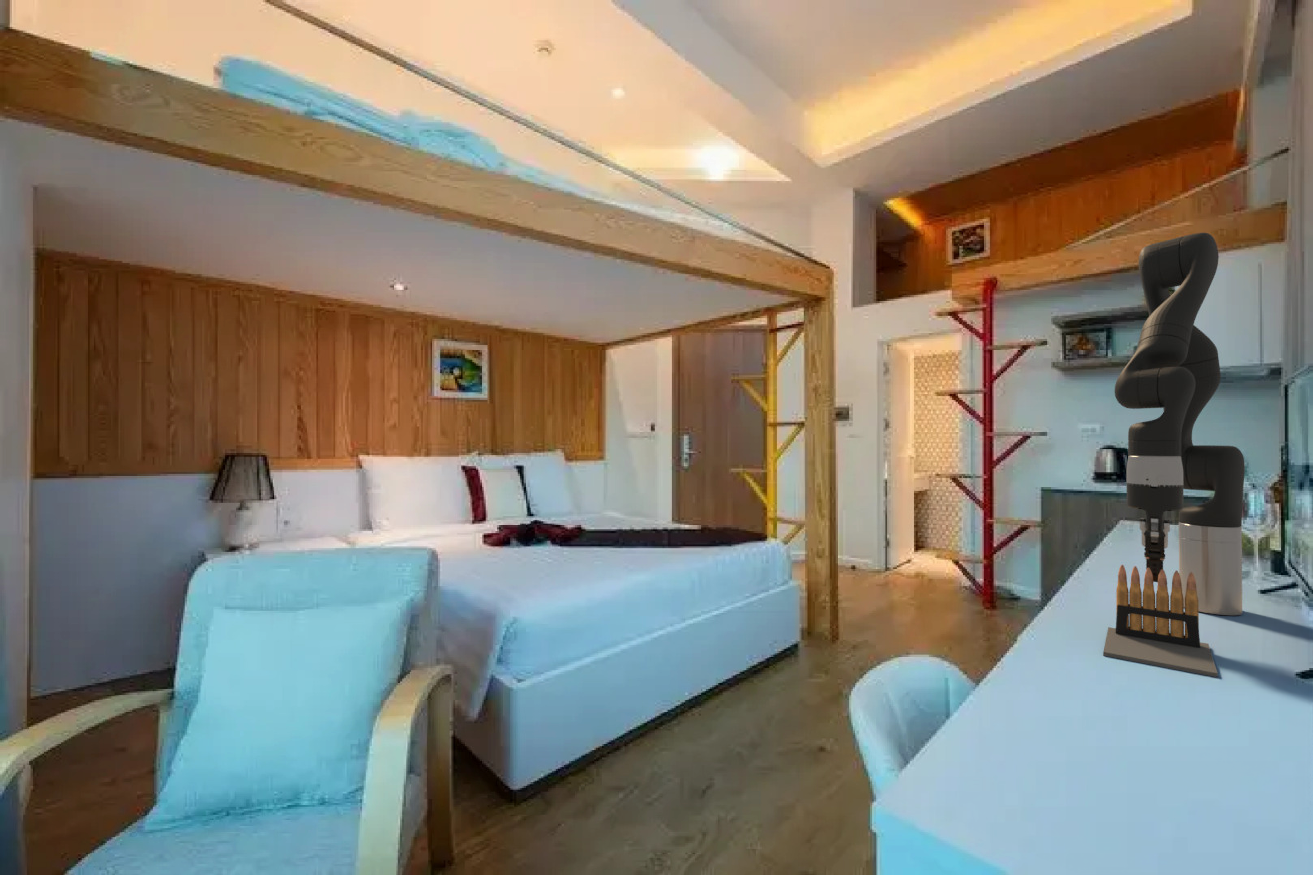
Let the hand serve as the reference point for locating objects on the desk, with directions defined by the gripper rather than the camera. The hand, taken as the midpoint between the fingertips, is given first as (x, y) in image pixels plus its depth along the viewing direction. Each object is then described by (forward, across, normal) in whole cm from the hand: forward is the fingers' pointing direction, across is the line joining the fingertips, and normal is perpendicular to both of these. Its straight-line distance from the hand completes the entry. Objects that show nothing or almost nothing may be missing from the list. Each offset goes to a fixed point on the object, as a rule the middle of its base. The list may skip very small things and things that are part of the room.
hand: (1154, 581), depth 100 cm
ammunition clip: (+9, +4, 0) cm, 10 cm away
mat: (+10, +9, 0) cm, 13 cm away
